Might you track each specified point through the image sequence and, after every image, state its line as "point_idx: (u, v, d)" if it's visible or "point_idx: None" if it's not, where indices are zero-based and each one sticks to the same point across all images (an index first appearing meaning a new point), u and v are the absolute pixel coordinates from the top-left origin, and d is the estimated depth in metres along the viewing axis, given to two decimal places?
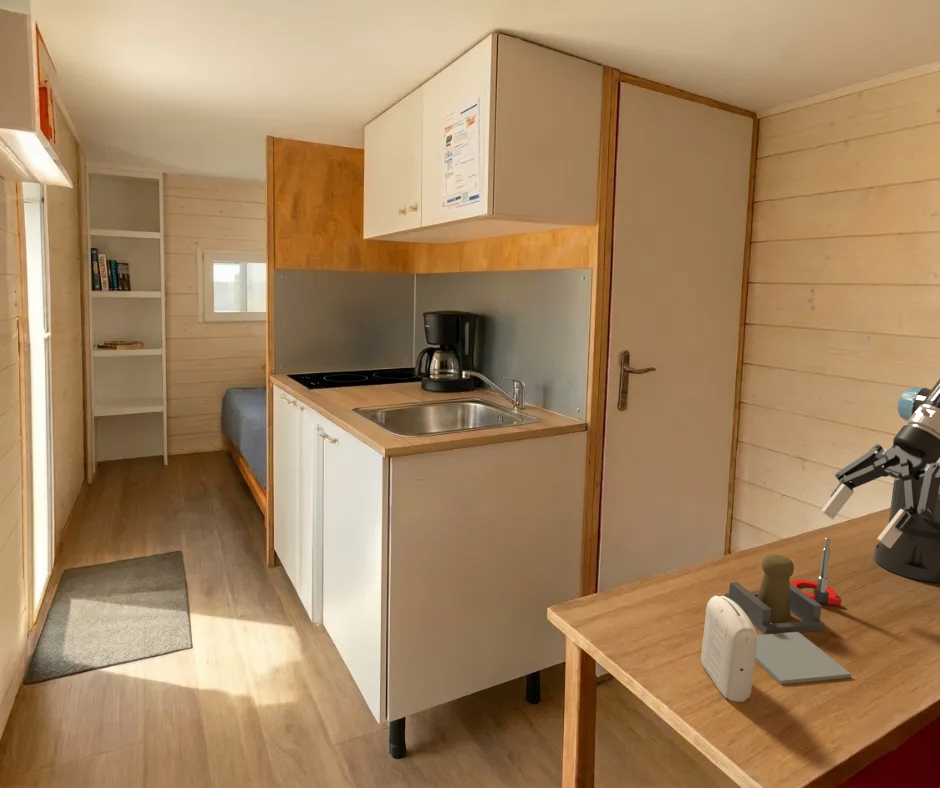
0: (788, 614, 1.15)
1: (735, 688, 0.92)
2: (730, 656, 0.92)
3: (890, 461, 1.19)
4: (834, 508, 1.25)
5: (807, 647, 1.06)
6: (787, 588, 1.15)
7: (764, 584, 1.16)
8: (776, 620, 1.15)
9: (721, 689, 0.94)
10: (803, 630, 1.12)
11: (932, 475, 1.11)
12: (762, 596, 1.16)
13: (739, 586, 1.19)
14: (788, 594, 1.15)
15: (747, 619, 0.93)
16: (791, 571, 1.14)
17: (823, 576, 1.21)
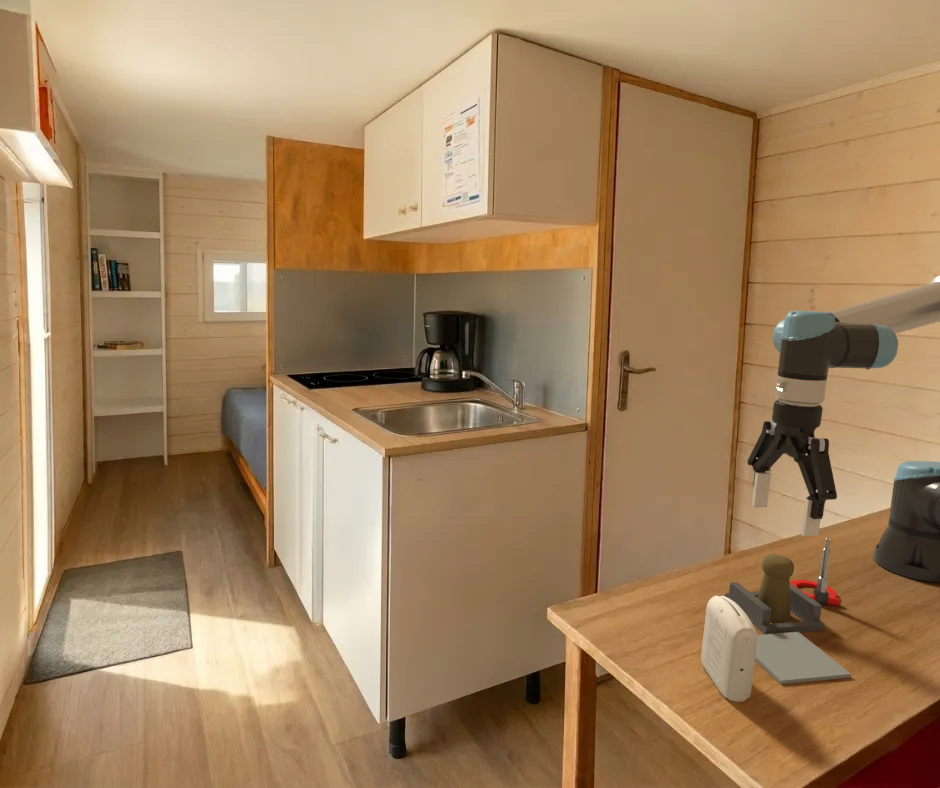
0: (788, 614, 1.15)
1: (735, 688, 0.92)
2: (730, 656, 0.92)
3: (780, 442, 1.13)
4: (762, 498, 1.20)
5: (807, 647, 1.06)
6: (787, 588, 1.15)
7: (764, 584, 1.16)
8: (776, 620, 1.15)
9: (721, 689, 0.94)
10: (803, 630, 1.12)
11: (816, 452, 1.05)
12: (762, 596, 1.16)
13: (739, 586, 1.19)
14: (788, 594, 1.15)
15: (747, 619, 0.93)
16: (791, 571, 1.14)
17: (823, 576, 1.21)
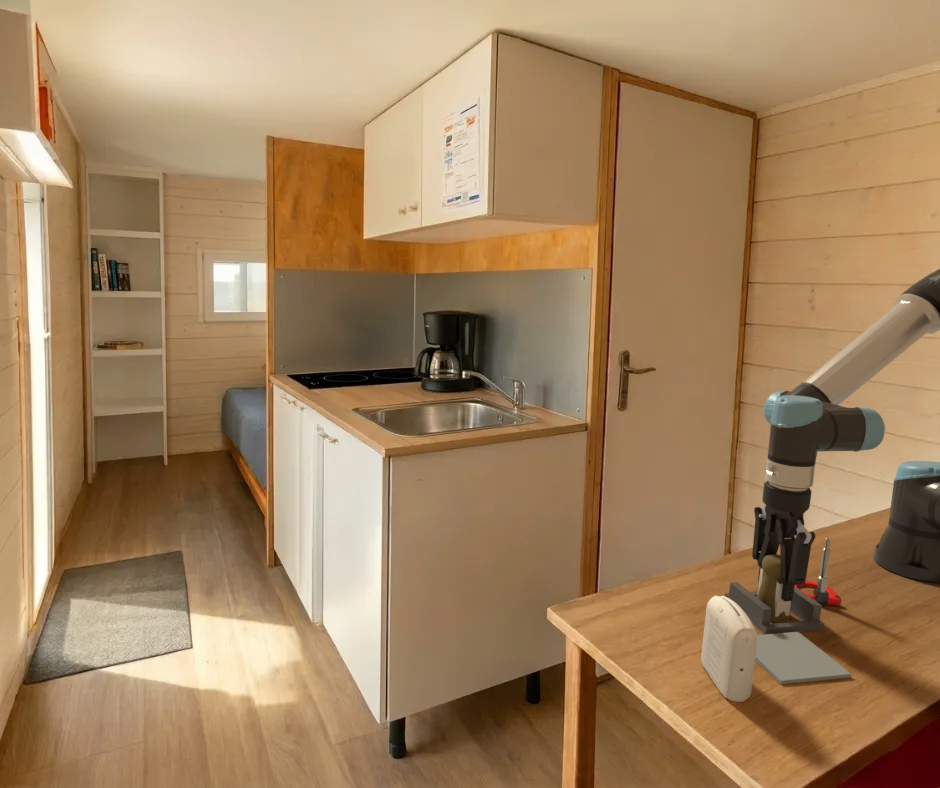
0: None
1: (735, 688, 0.92)
2: (730, 656, 0.92)
3: (772, 522, 1.15)
4: None
5: (807, 647, 1.06)
6: None
7: (764, 584, 1.16)
8: (776, 620, 1.15)
9: (721, 689, 0.94)
10: (803, 630, 1.12)
11: (799, 545, 1.09)
12: (762, 596, 1.16)
13: (739, 586, 1.19)
14: None
15: (747, 619, 0.93)
16: None
17: (823, 576, 1.21)
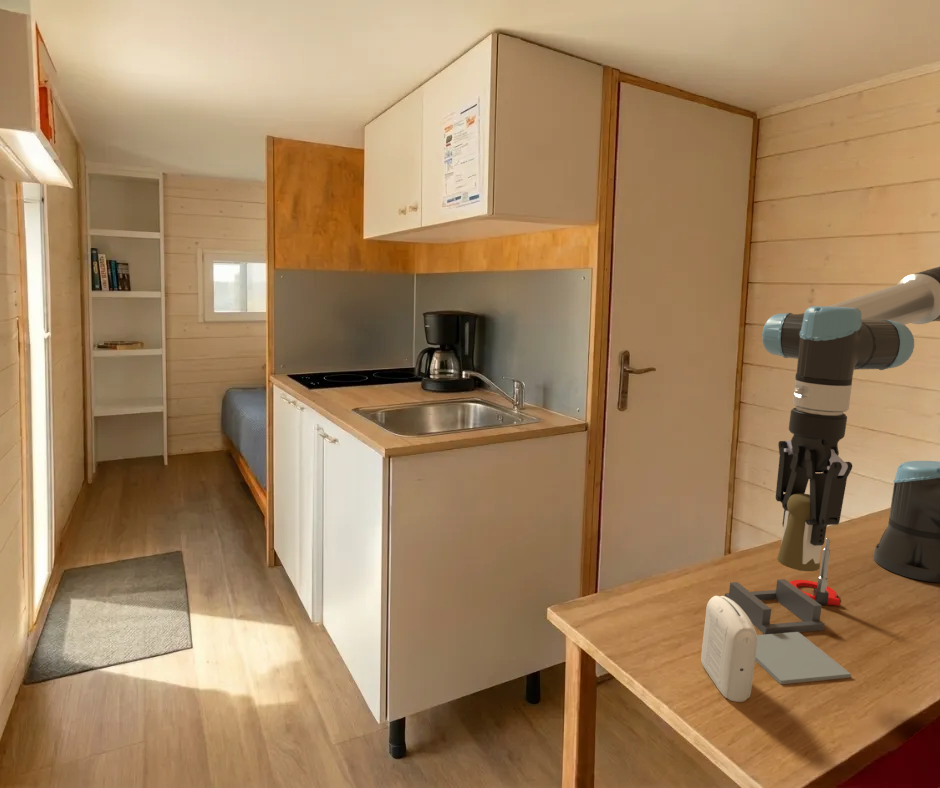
0: None
1: (735, 688, 0.92)
2: (730, 656, 0.92)
3: (800, 455, 0.99)
4: None
5: (807, 647, 1.06)
6: None
7: (789, 527, 1.01)
8: (803, 568, 0.99)
9: (721, 689, 0.94)
10: (803, 630, 1.12)
11: (833, 477, 0.93)
12: (787, 541, 1.01)
13: (739, 586, 1.19)
14: None
15: (747, 619, 0.93)
16: None
17: (823, 576, 1.21)
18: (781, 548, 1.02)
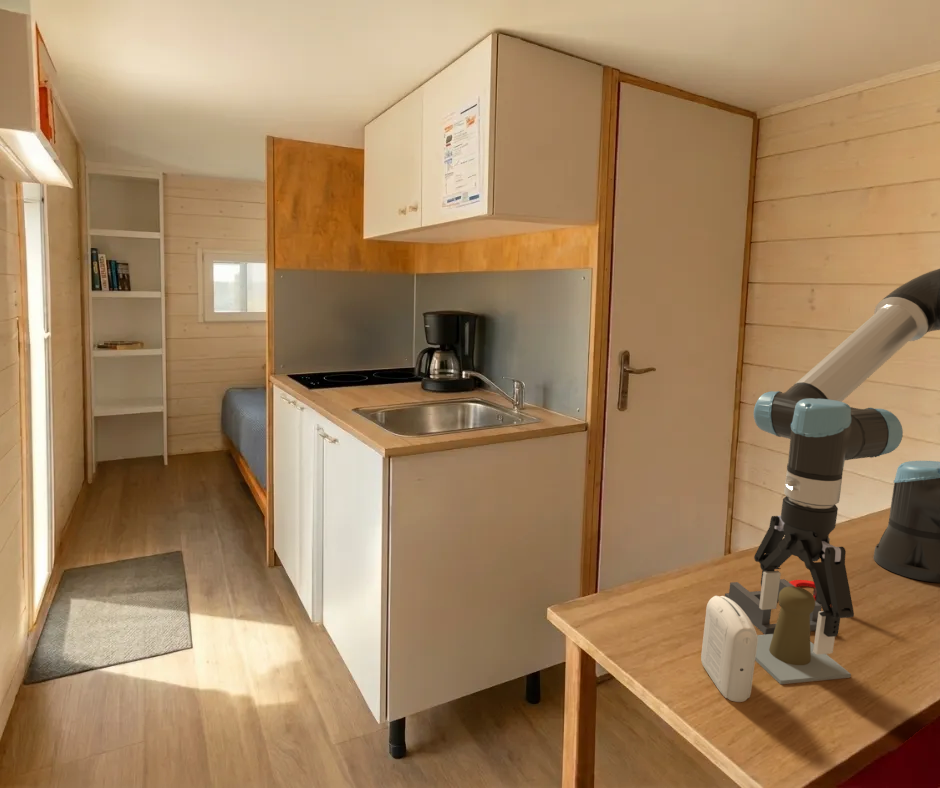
0: (808, 655, 1.02)
1: (735, 688, 0.92)
2: (730, 656, 0.92)
3: (790, 542, 1.02)
4: (770, 599, 1.09)
5: None
6: (807, 626, 1.01)
7: (781, 620, 1.03)
8: (795, 662, 1.01)
9: (721, 689, 0.94)
10: None
11: (831, 564, 0.94)
12: (779, 634, 1.03)
13: (739, 586, 1.19)
14: (809, 632, 1.02)
15: (747, 619, 0.93)
16: (812, 607, 1.00)
17: None
18: (773, 640, 1.04)
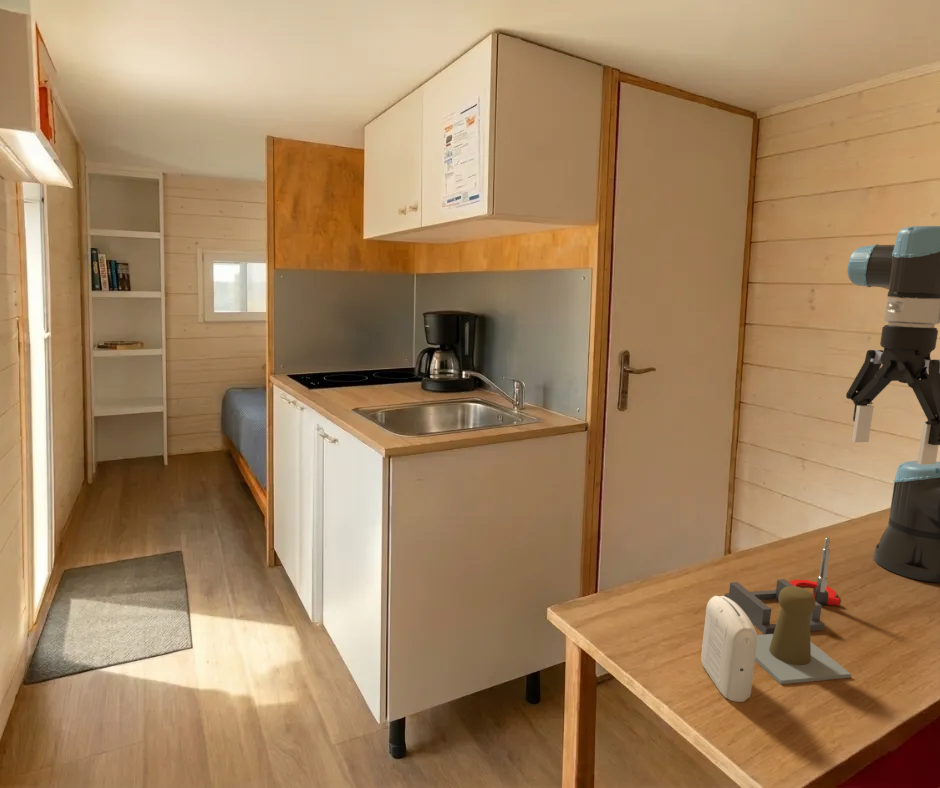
0: (808, 655, 1.02)
1: (735, 688, 0.92)
2: (730, 656, 0.92)
3: (889, 368, 1.07)
4: (863, 432, 1.15)
5: None
6: (808, 625, 1.01)
7: (781, 620, 1.03)
8: (795, 662, 1.01)
9: (721, 689, 0.94)
10: None
11: (936, 374, 0.99)
12: (779, 634, 1.03)
13: (739, 586, 1.19)
14: (809, 632, 1.02)
15: (747, 619, 0.93)
16: (812, 606, 1.00)
17: (823, 576, 1.21)
18: (773, 640, 1.04)
